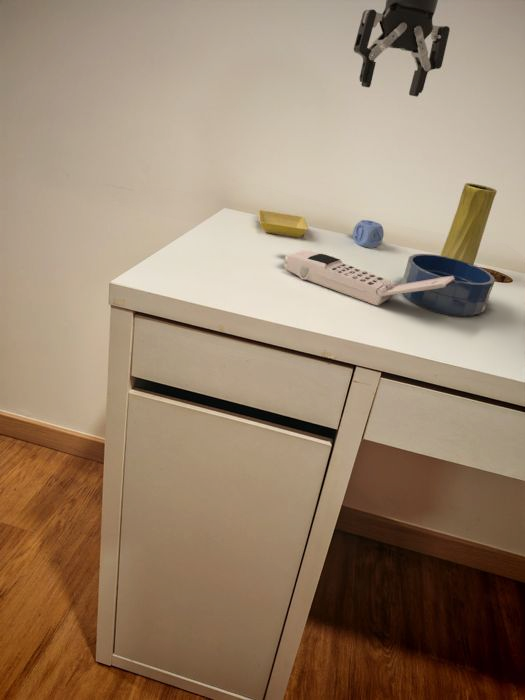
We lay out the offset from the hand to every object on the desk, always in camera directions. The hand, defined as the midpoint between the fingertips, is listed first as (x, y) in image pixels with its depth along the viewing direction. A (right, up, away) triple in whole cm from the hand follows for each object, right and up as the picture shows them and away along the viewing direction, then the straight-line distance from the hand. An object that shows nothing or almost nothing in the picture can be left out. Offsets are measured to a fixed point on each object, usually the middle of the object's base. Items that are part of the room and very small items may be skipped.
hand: (389, 91), depth 94 cm
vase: (+13, -27, +9) cm, 32 cm away
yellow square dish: (-17, -20, +12) cm, 29 cm away
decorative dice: (-2, -22, +14) cm, 26 cm away
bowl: (+6, -34, -8) cm, 36 cm away
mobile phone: (-8, -33, -11) cm, 36 cm away
